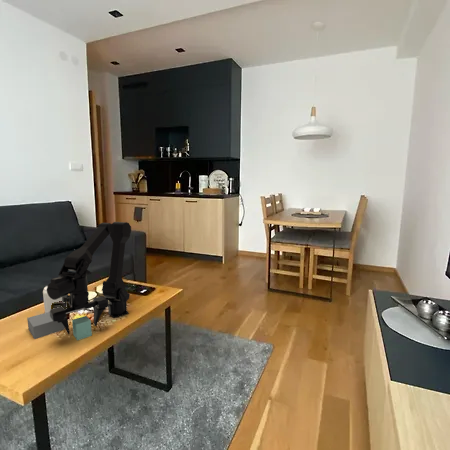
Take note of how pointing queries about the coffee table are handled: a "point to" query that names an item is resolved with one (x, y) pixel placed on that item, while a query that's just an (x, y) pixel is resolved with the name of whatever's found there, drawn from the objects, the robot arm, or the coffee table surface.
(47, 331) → the charcoal box
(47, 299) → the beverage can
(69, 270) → the robot arm
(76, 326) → the teal block
